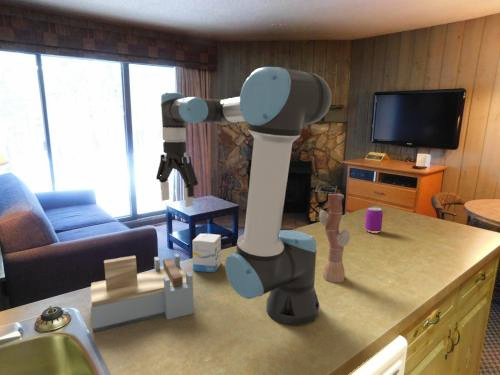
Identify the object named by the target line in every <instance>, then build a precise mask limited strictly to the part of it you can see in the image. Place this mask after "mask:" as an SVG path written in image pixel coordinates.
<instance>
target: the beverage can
mask: <svg viewBox="0 0 500 375" xmlns="http://www.w3.org/2000/svg"><path fill="white" fill-rule="evenodd" d="M365 212H366V214H365V227H364V229H365V228H366V229H367V230H370V231H381V232H382V227H383V226H382V225H383V215H384V213H383V210H382V208H380V207H376V206H369V207H368V209H367V210H366V211H365Z"/></svg>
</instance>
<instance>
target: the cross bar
mask: <svg viewBox="0 0 500 375" xmlns="http://www.w3.org/2000/svg"><path fill="white" fill-rule="evenodd" d="M162 262H163V265H162V266H163V267H164V269H165V271H166V273H167V275H168V277H169V279H170V281H171V282H172V284H173V286H174V287H176V286H180V285H183V277H182V275H181V273H180V272H179V270H178V268H177V267H176V265H175V264H174V259H173V258H172V257H169V258H163V260H162Z"/></svg>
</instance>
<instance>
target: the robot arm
mask: <svg viewBox="0 0 500 375" xmlns="http://www.w3.org/2000/svg"><path fill="white" fill-rule="evenodd" d="M160 100H161V102H160V108H161V122H162V131H161V132H162V140H163V141H164V142H162V146H163V147H162V148H163V153H164V154H160V161H159V166H158V170H157V173H156V180H158V181H159V182H160V190H161V191H160V192H161V194H160V195H161V201H167V200H170V186H169V185H170V184H169V183H170V182H169V181H170V180H169V177H170V175H171V174H172V171H173V169H174V170H176V171H177V172H179V174H180V177H181V178H182V180H183V183H184V185H185V186H184V200H185V201H184V202H185V203H184V204H185V206H184V207H186V208H189V207H193V206H194V195H195V193H194V187H195V186H198V185H199V182H198V179H197V176H196V173H195V170H194V167H193V164H192V159H191V158H192V157H191V156H185V153H187V142H186V139H187V135H186V124H236V123H240V122H241V123H242V122H247V124H248V128H247V129H248V130H247V131H248V132H249V134H250V135H251V136H252V137H253V146H252V153H251V154H252V155H251V166H250V175H249V182H248V183H249V186H248V194H247V204H246V214H245V223H244V232H243V234H242V235H241V236H239V237H238V238H237V242H236V250H235V252H231V253H230V254H229V255H228V256H226V259H225V263H224V268H225V274H226V277H227V280H228V282H229V284H230V286H231V288H232V289H233V290H234V291H235V293H236V294H238V295H239V296H240V297H241V298H242V299H247V300H251V299H255V298H258V297H262V296H264V295H265V294H268V293H269V295H268V297H267V298H266V313H267V315H268V316H269V317H270V318H272V319H273V320H274V321H277V322H279V323H280V324H283V325H289V326H305V325H308V324H311V323H313V322H314V321H317V319H318V318H319V316H320V302H319V299H318V295H317V292H316V291H317V290H316V288H315V277H316V260H317V257H316V256H317V252H318V251H317V241H316V239H315V238H314V236H312V235H310V234H308V233H305V232H302V231H297V230H289V229H288V230H287V229H285V230H284V229H283V230H281V227H282V220H283V219H282V218H283V212H284V205H285V198H286V190H287V186H288V184H287V183H288V176H289V169H290V162H291V156H292V147H293V143H294V141H296V140H298V139H299V138H300V137H301V136H302V135H301V134H302V128H303V126H304V125H311V124H314V123H317V122H319V121H320V120H322V119H323V118H324V116H326V114H327V113H328V112H329V109H330V108H331V104H332V90H331V88H330V86H329V84H328V83H327V82H326V80H325V79H324V77H322V76H320V75H318V74H316V73H313V72H309V71H302V70H297V69H291V68H285V67H280V66H263V67H259V68H257V69H255V70H253V71H252V72H251V73H250V75H249V76H248V77H247V78H246V79H245V81H244V83H243V84H242V87H241V90H240V94H239V96H235V97H232V98H230V97H229V98H224V99H223V98H222V99H214V98H201V97H198V96H188V97H185V95H184V93H181V92H164V93H162V94H161V99H160Z"/></svg>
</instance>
